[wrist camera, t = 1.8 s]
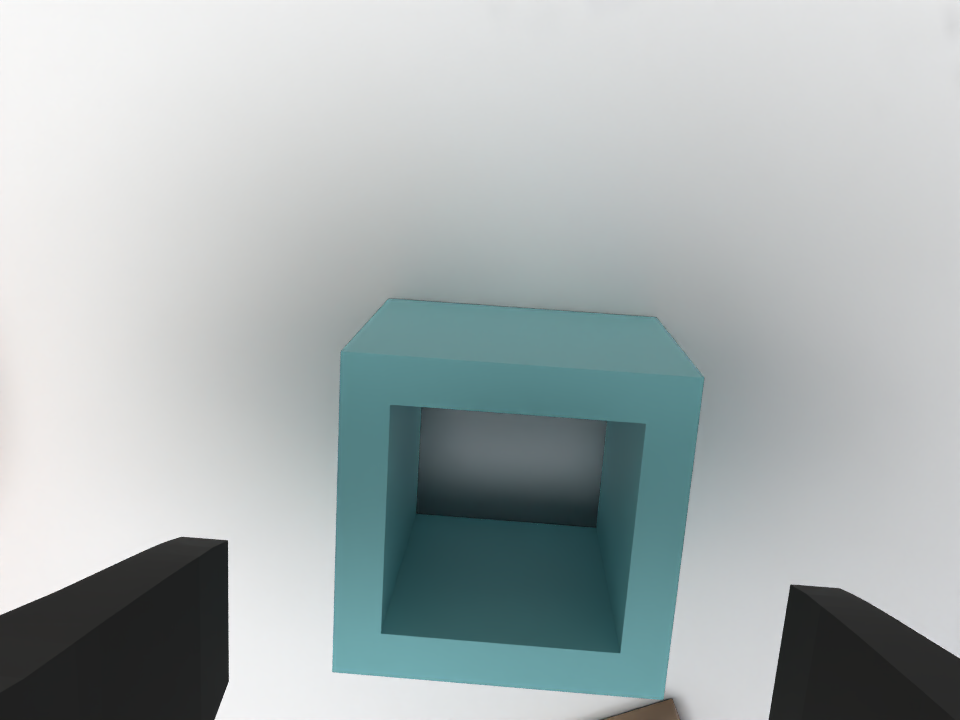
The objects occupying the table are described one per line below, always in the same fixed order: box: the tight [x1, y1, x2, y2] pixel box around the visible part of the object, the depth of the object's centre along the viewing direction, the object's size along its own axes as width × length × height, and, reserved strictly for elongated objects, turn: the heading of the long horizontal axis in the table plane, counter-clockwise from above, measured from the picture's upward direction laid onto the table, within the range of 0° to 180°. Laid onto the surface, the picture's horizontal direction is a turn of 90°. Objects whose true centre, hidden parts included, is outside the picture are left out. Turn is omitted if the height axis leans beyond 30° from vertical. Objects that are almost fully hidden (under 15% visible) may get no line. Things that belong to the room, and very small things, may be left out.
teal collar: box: [332, 298, 704, 700], centre depth 17 cm, size 6×6×5 cm
